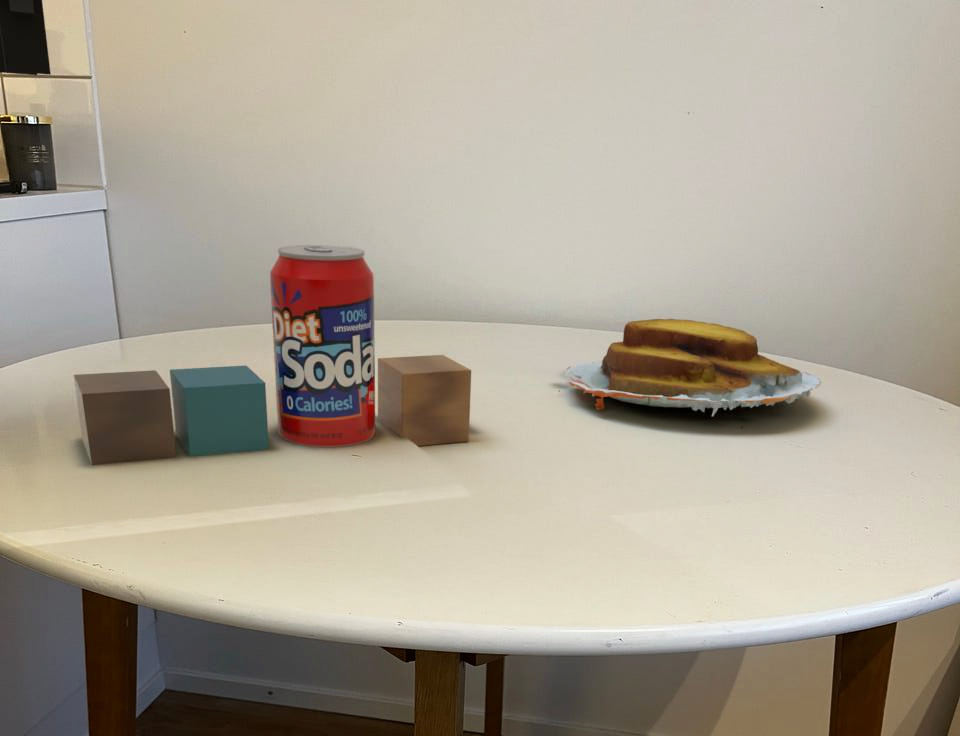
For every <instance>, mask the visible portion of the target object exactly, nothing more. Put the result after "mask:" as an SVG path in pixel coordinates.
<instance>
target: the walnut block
mask: <svg viewBox="0 0 960 736" xmlns="http://www.w3.org/2000/svg"><path fill="white" fill-rule="evenodd" d="M73 381H74V388H75V395H76V403H77V409H78V417H79V424H80V430H81V431H80V432H81V438H82V444H83V446H84V448H85V452H86V454H87V457H88V459H89V462H90V464H91V466H99V465H110V464H120V463H121V464H123V463H133V462H143V461H156V460H166V459H167V460H168V459H177V448H176V438H175V429H174V428H175V427H174V418H173V409H172V408H173V407H172V399H171V398H172V397H171V388H170V387H169V386H168V384H166V382H165V380H164V379H163V378H162V376H161V375H160V374H159V373H158V371H157V370H155V369H154V370H136V371H134V370H133V371H117V372H100V373H81V374H80V373H79V374H73Z"/></svg>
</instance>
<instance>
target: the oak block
mask: <svg viewBox="0 0 960 736" xmlns="http://www.w3.org/2000/svg"><path fill="white" fill-rule="evenodd" d="M471 389H472V369H470V368H468V367H467V366H465V365H463V364H461V363H459V362H457V361H455V360H453V359H452V358H450V357H448V356H446V355H444V354H431V355H414V356H397V357H396V356H395V357H393V356H392V357H378V358H377V420H378V421H379V422H381V423H382V424H384V425H385V426H386V427H388V428H389V429H390V430H391V431H393V433H395V434H397V435H398V436H399V437H400V438H402V439H407V440H409V442H411V443H412V444H414V445H415V446H417V447H424V446H433V445H435V446H436V445H444V444H445V445H446V444H457V443H467V442H469V440H470V419H471V418H470V417H471V416H470V414H471V395H472V394H471V392H472V391H471Z"/></svg>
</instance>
